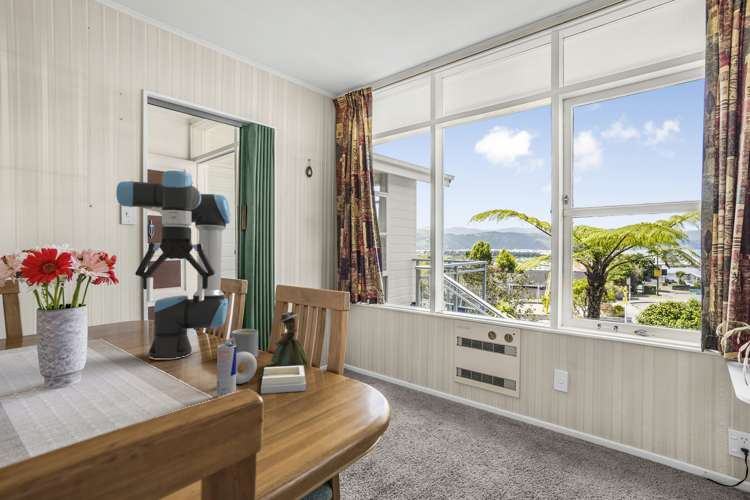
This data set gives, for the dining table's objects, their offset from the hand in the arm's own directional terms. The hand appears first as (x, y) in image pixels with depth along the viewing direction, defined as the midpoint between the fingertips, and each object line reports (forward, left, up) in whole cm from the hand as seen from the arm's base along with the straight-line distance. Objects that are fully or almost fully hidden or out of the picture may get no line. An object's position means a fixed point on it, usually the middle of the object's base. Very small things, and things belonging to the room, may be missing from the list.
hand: (175, 300), depth 110 cm
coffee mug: (-39, +13, -28) cm, 50 cm away
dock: (-6, +30, -28) cm, 41 cm away
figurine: (-24, +32, -28) cm, 49 cm away
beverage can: (+3, +14, -28) cm, 31 cm away
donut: (-8, +17, -28) cm, 34 cm away
